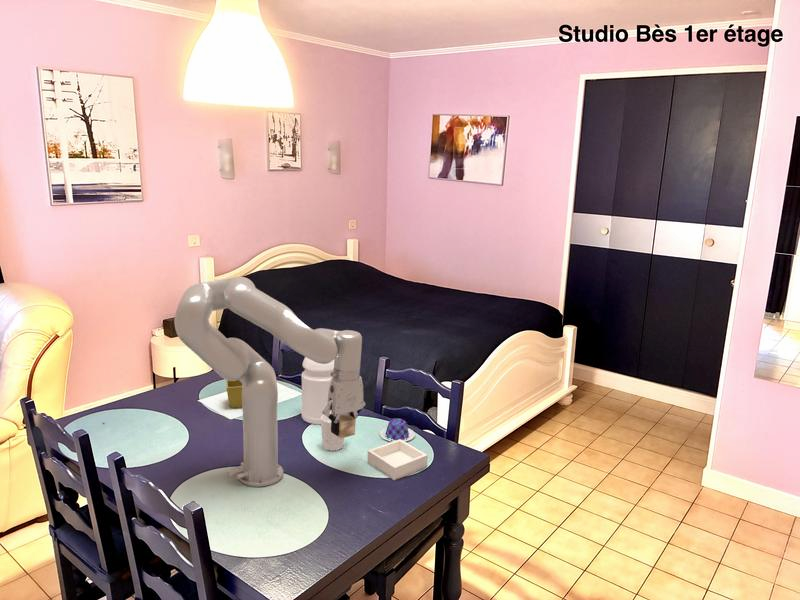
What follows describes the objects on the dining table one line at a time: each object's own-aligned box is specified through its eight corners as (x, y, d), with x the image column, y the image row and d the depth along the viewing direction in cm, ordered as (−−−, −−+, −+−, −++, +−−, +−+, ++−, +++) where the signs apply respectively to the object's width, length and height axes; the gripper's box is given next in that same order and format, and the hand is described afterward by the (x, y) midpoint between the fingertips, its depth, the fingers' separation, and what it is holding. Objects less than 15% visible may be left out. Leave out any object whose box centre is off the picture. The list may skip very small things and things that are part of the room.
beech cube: (340, 438, 172) (341, 422, 171) (331, 432, 175) (331, 416, 174) (354, 434, 175) (355, 418, 174) (344, 428, 179) (345, 412, 177)
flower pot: (226, 401, 223) (225, 378, 220) (250, 399, 225) (250, 377, 223) (227, 411, 214) (226, 387, 212) (252, 408, 217) (251, 385, 215)
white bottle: (323, 428, 203) (324, 351, 197) (293, 418, 210) (292, 343, 204) (348, 414, 215) (349, 341, 209) (318, 405, 222) (319, 334, 216)
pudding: (406, 447, 193) (406, 432, 192) (373, 439, 198) (373, 424, 197) (420, 432, 204) (421, 418, 203) (388, 425, 209) (389, 411, 208)
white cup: (341, 453, 187) (341, 424, 185) (317, 450, 188) (317, 421, 186) (348, 442, 195) (348, 413, 192) (325, 439, 196) (325, 411, 194)
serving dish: (394, 480, 172) (394, 467, 172) (367, 462, 182) (367, 450, 181) (427, 467, 181) (427, 455, 180) (399, 450, 190) (400, 439, 189)
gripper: (329, 382, 163) (325, 443, 167) (377, 372, 174) (373, 429, 178) (314, 374, 168) (311, 433, 172) (362, 364, 179) (358, 420, 183)
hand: (342, 430), depth 175 cm, fingers closed on beech cube, 5 cm apart
